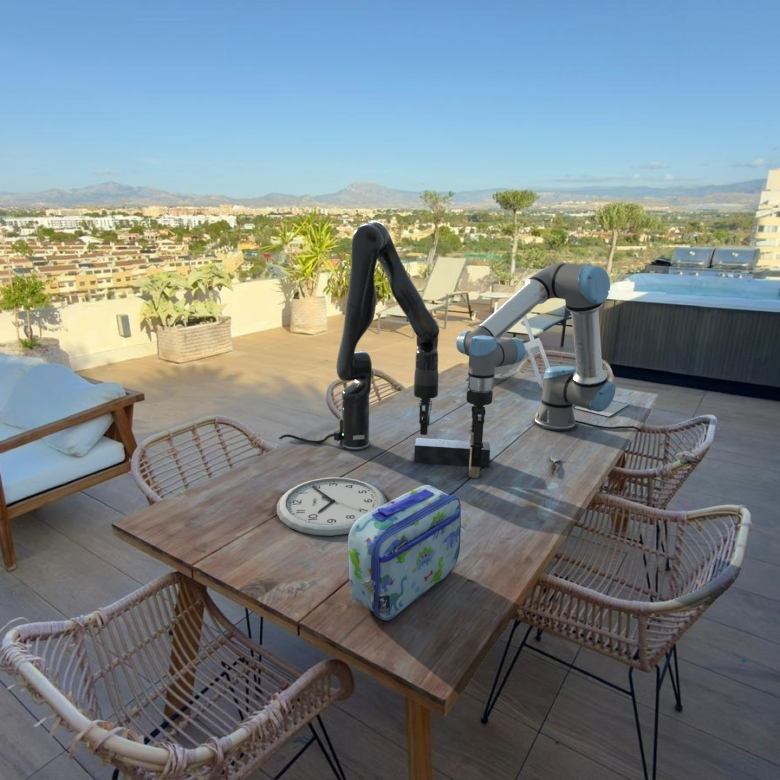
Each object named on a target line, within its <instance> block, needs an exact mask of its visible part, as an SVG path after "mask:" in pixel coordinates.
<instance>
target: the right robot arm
mask: <svg viewBox="0 0 780 780" xmlns="http://www.w3.org/2000/svg"><path fill="white" fill-rule="evenodd" d="M609 291H611V280H610V275H609V274H608V272H607V271H606V269H604V268H603V267H601V266H598V265H593V264H579V263H578V264H577V263H566V262H558V263H554V264H550V265H549V266H546V267H544V268H542V269H541V270H539V271H537V272H536V273H534V274H533V275H531V276H530V277H529V278H528V279H526V281H525V282H524V283H523V286H522V288H521V289H520V290H518V291H517V292H516V293H515V294H514V295H513V296H511V297H510V298H509V299H508V300H507V301H505V303H504V304H502V305H501V306H500V307H499V308H498V309H496V310H495V311H494V312H493V313H492V314H490V316H488V317H487V318H486V319H485V320H484V321H483V322H482V323H480V324H479V325H478V326H477V327H476V328H475V329H473V330H472V331H471V330H464V331H462V332H460V333H459V334H458V336H457V338H456V340H455V341H456V342H455V346H456V349H457V351H458V352H459V353H461V354H463V355H465V356H467V357H468V371H467V377H465V381H466V382H467V389H466V399H465V400H466V402H467V403H468V404H470V405H471V421H472V422H471V430H470V431H471V433H472V432H474V434H473V445H470V447H472V457H471V467H480V463H481V450H482V447H483V445H482V442H483V439H484V424H485V416H486V411H487V410H486V407H485V406H488V405H490V404H492V402H493V395H494V392H493V390H494V385H495V375H494V371H495V368H496V367H500V366H506V365H512V364H515V363H518V362H520V361H522V360H523V358H524V356H525V346H524V343H523V342H522V340H521V339H519V338H518V339H510V338H507V339H508V340H506V339H504V338H502V337H504V335H506V333H508V332H509V331H510V330H511V329H512V328H513V327H514V326H515V325H516V324H519V323H518V322H520V321H522V320H523V317H524V316H525V315H526V316H527V315H528V314H529V313H530V312H531V311H532V310H534V309H535V308H536V307H537V306H538V305H543V304H544V303H546V302H547V301H548V300H551V299H560V300H564V303H565V308H566V309H565V310H567V311H568V312H570V313H571V325H572V326H571V327H572V336H573V346H574V354H575V355H574V359H575V366H571V365H570V366H569V365H557V366H556V365H555V366H550V367H549V368H547V369H546V368H545V371H544V375H543V378H542V379H543V380H542V382H543V389H542V394H541V402H540V405H539V407H538V410H537V411H535V416H534V424H535V425H536V426H537V427H539V428H542V429H544V430H549V431H556V432H567V431H572V430H574V429H575V428H576V423H577V424H580V425H585V426H589V427H593V428H599V429H606V430H617V429H635V430H637V432H640V433H641V432H643V431H642V429H640V428H639V427H637V426H634V425H627V426H626V425H625V426H624V425H619V426H604V425H598V424H593V423H589V422H585V421H580V420H577V419H576V418H575V417H576V416H575V413H574V407H573V406H575V407H576V406H579V407H582V408H586V409H589V410H591V411H592V410H593V411H597V412H601V411H604V410H605V409H606V408H607V407H608V406H609V405H610V404H611V402H612V401H614V398H615V395H616V389H617V388H616V384H615V383H614V382H613V381H610V380H609V378H608V376H609V375H608V372H607V371H606V370H605V369H604V368H603V359H602V358H603V356H602V343H601V340H602V339H601V327H600V325H601V324H600V311H599V310H600V308H601V307H602V306H603V305H604V302H605V301H606V300H607V298H608V297H609V294H610V293H609ZM522 362H523V361H522ZM480 468H481V467H480Z"/></svg>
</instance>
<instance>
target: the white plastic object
mask: <svg viewBox="0 0 780 780" xmlns="http://www.w3.org/2000/svg"><path fill="white" fill-rule="evenodd" d="M522 320H523V323H524V326H525V329H526V331H527V335H528V338H529V341H527V342H524V343H523V344H524V346H525V356H524V358H523V360H522V361H520V362H518V363H515V364H512V365H506V366H500V367H496V368H495V371H494V376H495V375H500V376H505V375H507V374H509V373H511V370H513V369H514V368H515V367H517V366H518V365H519V364H521V363H523V362H524V361H526V360H527V359H528V357H529V360H530V363H531V366H532V369H533V372H534V375H535V379H536V382H537V383H538V385H539V386H540V388H541V389H542V390H543V380H542V379H543V378H542V377H541V373H540V371H539V367H538V364H537V362H536V359H535V355H534V354H537V353H540V354H541V357H542V360H543V363H544V366H545V370H546V369H547V368H549V367H551V365H550V363H549V360H548V356H547V354H546V352H545V351H546V350H545V348H544V346H543V342H542V341H541V339H540V337H537V338H535V337H534V334H533V330H532V328H531V325H530V323H529V319H528V316H527V314H526V315H525V316H524V317H523V318H522ZM508 339H518V340H519V338H518V337H516V336H514V337H510V338H506V339H505V340H508Z"/></svg>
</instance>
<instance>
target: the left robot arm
mask: <svg viewBox="0 0 780 780" xmlns="http://www.w3.org/2000/svg"><path fill="white" fill-rule="evenodd" d="M351 238H352V239H351V257H350V258H351V260H350V261H351V263H350V276H349V281H348V289H347V296H346V302H345V309H344V310H345V311H344V319H343V320H344V321H343V328H342V335H341V340H340V346H339V348H338V353H337V358H336V364H335V365H336V375H337V377H338V378H339V379H340V380H341V381H342V382H350V381H352V383H351V384H350V385H348V386H346V387H345V388H343V389H342V391H341V418H340V419H339V429H338V430H336V431H334V432H333V433H330V434H328V435H326V436H325V437H324V438H323V439H319V440H315V439H314V440H312V439H307V438H305V437H300V438H299V436H296V435H294V434H288V433H286V434H283V435H281V436H279V438H278V440H283V439H285V438H292V439H294V440H298V441H302V442H305V443H309V444H321V443H324V442H326V441H328V440H329V439H330V438H332V437H333V441H336V442H339V446H342V447H343V448H344V449H345V450H349V451H362V450H365V449H367V448H369V446H370V394H371V391H372V376H373V375H372V373H373V366H372V365H373V364H372V359H371V356H370V354H369V353H368V352H367V351H363V350H361V351H356V349H357V345H358V343H359V342H360V340H361V339H362V338H363V336H364V334H365V333H366V332H367V331H368V329H369V328H370V327H371V325H372V323H373V322H374V319H375V314H376V307H377V299H378V298H377V289H376V284H375V270H376V266H377V261H378V262H379V263H380V266H381V267H382V269H383V271H384V274H385V276H386V279H387V282H388V285H389V289H390V292H391V294H392V296H393V298H394V300H395V301H396V303H397V305H398V306H399V308H400V309H401V311H402V312H403V314H404V315H405V317H407V318H406V319H407V320H408V322H409V325H410V326H411V329H412V331H413V332H414V334H415V335H416V351H415V363H414V365H415V366H414V367H415V368H414V374H413V375H414V377H413V395H414V397H415V398H419V402H418V417H419V420H418V424H420V425H419V426H420V427H419V431H420V432H419V434H420V436H427V435H428V426H430V417H431V411H432V406H433V400H432V399H436V398H437V397H438V394H439V351H438V346H439V343H438V342H439V336H440V326H439V323H438V321H437V319H436V318H434V317H433V316H432V314H431V312H430V311H429V309H428V307H427V306H426V303H425V301H424V299H423V297H422V296H421V294H420V292H419V291H418V289H417V288H416V286H415V284H414V282H413V281H412V279H411V277H410V276H409V274H408V272H407V270H406V268H405V266H404V264H403V262H402V260H401V258H400V255H399V254H398V251H397V249H396V247H395V245H394V242H393V239H392V236H391V235H390V232H389V230H388V228H387V227H386V226H385V225H384V224H383V223H381V222H379V221H376V220H375V221H374V220H373V221H369V222H366V223H364V224H361V225H360V226H358V227H357V228H356V229H355V230H354V232H353V235H352V237H351Z"/></svg>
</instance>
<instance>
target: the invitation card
mask: <svg viewBox="0 0 780 780" xmlns="http://www.w3.org/2000/svg"><path fill="white" fill-rule="evenodd" d="M628 406H629V404H627V403H623V402H618V401H614V400H612V402H611V404H610V405H609V406H608V407H607V408H606V409H605V410H604V411H601V412H597V411H593V410H592V411H591V410H589V409H586V408H582V407H579V406H576V405H575V406H574V407H573V409H575V410H581V411H584V412H587V413H593V414H596V415H600V416H604V417H608V418H609V417H611V416H613V415H614V414H616V413H617V412H619V411H621V410H623V409H624V408H626V407H628Z"/></svg>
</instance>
